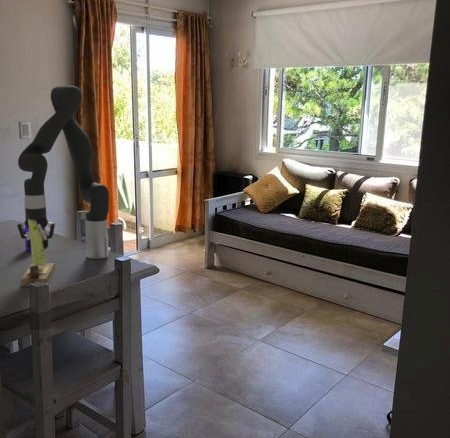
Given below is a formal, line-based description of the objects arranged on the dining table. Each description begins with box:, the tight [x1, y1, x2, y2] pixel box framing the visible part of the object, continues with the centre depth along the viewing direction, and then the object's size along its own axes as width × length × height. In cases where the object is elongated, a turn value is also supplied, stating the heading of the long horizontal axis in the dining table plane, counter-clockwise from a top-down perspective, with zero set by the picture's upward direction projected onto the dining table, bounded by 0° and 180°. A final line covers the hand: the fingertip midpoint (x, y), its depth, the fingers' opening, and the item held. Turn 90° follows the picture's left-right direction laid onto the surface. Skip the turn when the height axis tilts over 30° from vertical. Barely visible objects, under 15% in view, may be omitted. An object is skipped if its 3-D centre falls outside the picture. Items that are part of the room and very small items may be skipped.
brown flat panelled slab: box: [20, 262, 56, 286], centre depth 189 cm, size 9×18×7 cm, turn 9°
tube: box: [28, 219, 47, 266], centre depth 187 cm, size 6×5×20 cm
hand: (38, 248), depth 188 cm, fingers closed on tube, 5 cm apart
